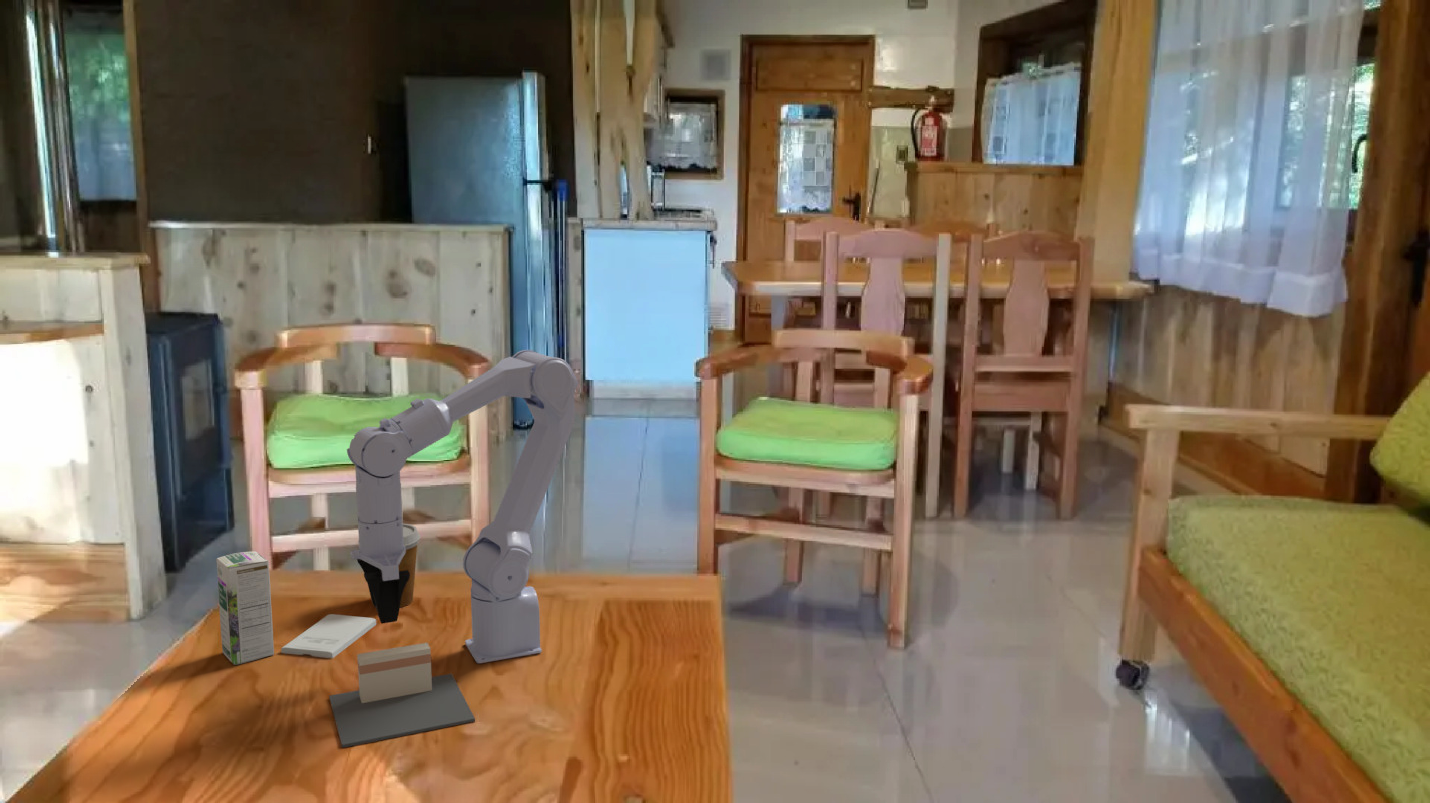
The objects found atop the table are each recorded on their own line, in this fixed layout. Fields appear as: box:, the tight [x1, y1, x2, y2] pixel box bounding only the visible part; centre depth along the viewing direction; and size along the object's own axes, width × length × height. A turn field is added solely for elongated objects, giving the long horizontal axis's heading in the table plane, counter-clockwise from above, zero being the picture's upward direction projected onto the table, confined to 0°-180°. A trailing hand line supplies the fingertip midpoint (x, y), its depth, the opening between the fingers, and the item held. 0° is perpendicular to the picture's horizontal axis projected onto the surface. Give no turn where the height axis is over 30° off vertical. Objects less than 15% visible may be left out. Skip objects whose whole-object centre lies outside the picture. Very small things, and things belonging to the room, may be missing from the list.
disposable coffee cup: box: [358, 523, 421, 608], centre depth 173 cm, size 10×10×12 cm
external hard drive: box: [280, 613, 377, 659], centre depth 160 cm, size 2×8×12 cm
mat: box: [329, 673, 476, 749], centre depth 139 cm, size 16×14×1 cm
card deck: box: [356, 642, 433, 703], centre depth 142 cm, size 9×2×6 cm, turn 115°
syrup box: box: [216, 550, 275, 666], centre depth 153 cm, size 6×6×14 cm
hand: (385, 613), depth 146 cm, fingers open, 5 cm apart
